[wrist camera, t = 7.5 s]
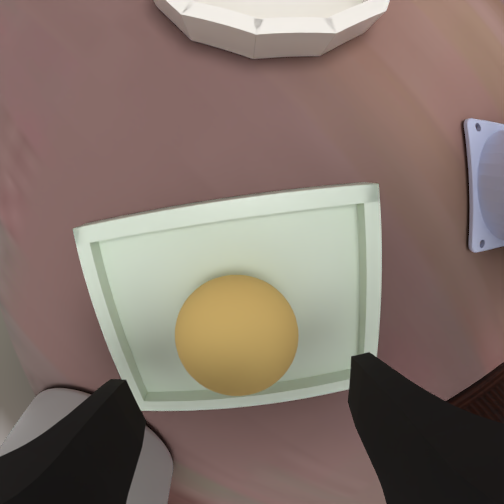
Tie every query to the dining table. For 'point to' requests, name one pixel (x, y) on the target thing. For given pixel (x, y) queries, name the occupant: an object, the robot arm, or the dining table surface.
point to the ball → (236, 335)
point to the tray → (239, 263)
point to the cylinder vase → (66, 400)
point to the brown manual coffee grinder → (484, 396)
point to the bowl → (273, 24)
